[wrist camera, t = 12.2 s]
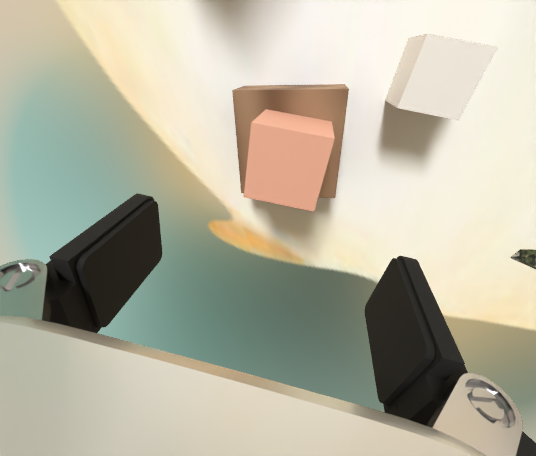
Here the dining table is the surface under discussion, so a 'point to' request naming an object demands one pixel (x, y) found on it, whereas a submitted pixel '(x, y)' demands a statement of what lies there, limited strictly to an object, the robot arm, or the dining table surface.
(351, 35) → the dining table surface
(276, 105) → the walnut base block
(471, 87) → the pale grey cube
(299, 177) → the terracotta cube
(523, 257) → the eiffel tower figurine
